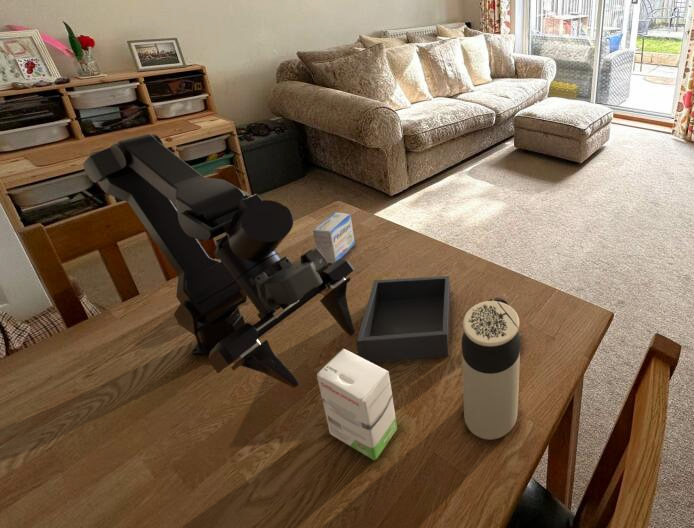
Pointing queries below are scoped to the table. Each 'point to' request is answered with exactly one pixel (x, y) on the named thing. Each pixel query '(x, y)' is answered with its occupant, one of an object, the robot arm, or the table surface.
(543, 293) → the table surface
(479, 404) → the travel mug
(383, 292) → the open storage tray
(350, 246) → the medicine box
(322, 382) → the ink box
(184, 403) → the table surface
